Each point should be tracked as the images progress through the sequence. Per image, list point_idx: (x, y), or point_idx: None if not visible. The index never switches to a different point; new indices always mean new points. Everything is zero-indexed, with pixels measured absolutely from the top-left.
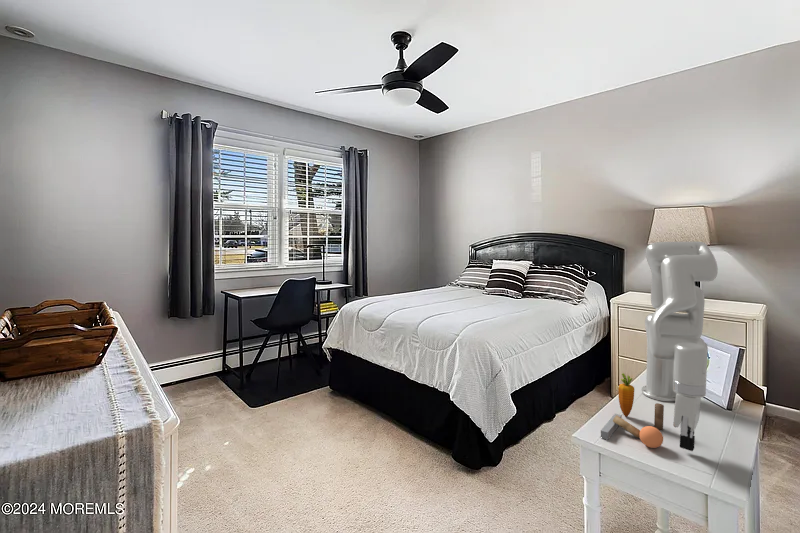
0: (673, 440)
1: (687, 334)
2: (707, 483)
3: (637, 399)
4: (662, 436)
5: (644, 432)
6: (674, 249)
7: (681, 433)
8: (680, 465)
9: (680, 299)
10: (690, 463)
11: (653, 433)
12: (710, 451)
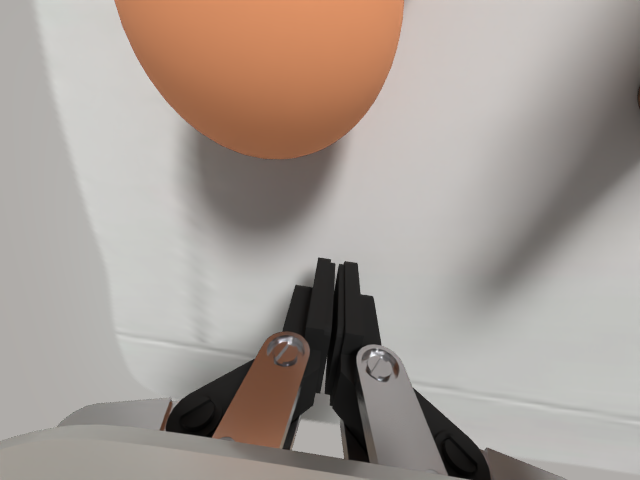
0: (473, 203)
1: None
2: (120, 327)
3: None
4: (265, 156)
5: None
6: None
7: (257, 361)
8: (177, 243)
9: None
10: (233, 282)
11: (133, 41)
12: (411, 353)
